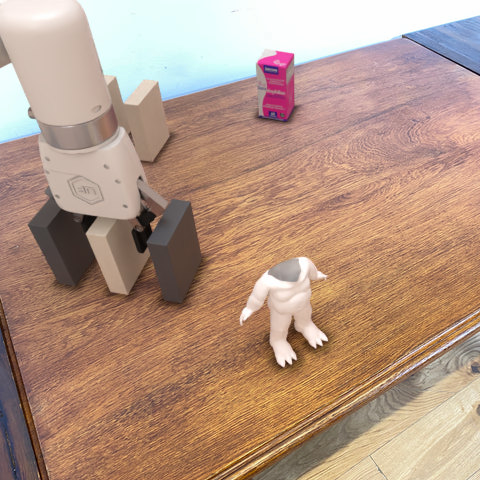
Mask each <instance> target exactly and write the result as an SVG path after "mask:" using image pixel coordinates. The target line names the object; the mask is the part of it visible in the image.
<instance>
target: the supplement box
mask: <svg viewBox="0 0 480 480" xmlns="http://www.w3.org/2000/svg"><path fill="white" fill-rule="evenodd" d="M255 74H256V75H255V76H256V90H257V103H258V104H257V105H258V106H257V107H258V108H257V109H258V118H262V119H270V120H275V121H276V120H277V121H281V122H288V120H289V118H290V116H291V114H292V112H293V110H294V109H295V53H293V52H286V51H281V50H274V49H269V48H264V50H263V52H262V53H261V55H260V56H259V57H258V59H257V60H256V62H255Z"/></svg>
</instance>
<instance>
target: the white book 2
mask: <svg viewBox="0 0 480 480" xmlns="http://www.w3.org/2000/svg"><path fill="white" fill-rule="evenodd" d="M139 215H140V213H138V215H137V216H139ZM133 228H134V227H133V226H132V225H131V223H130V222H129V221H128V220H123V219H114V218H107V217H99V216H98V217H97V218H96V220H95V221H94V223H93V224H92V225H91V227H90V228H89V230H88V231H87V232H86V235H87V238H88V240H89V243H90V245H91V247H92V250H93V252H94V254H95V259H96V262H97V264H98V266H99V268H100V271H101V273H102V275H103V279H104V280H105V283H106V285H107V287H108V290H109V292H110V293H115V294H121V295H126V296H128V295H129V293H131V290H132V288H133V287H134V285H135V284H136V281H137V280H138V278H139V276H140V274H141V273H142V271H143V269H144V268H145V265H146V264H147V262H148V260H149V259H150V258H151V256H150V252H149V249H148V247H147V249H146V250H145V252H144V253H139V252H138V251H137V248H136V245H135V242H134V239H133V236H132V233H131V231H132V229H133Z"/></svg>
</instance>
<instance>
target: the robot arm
mask: <svg viewBox="0 0 480 480" xmlns="http://www.w3.org/2000/svg"><path fill="white" fill-rule="evenodd" d="M94 40H95V39H94V36H93V33H92V29H91V27H90V23H89V20H88V16H87V13H86V12H85V10H84V8H83V7H82V5H81V4H80V2H78V1H77V0H0V69H1V68H4V67H5V66H8V65H10V64H12V67H13V69H14V72H15V74H16V77H17V79H18V81H19V83H20V86H21V88H22V90H23V93H24V95H25V97H26V100H27V102H28V105H29V107H28V108H27V116H28V118H29V119H32V120H36V123H37V125H38V127H39V130H40V133H39V134H38V137H37V143H38V151H39V156H40V161H41V165H42V168H43V173H44V175H45V178H46V182H47V184H48V185H47V187H46V188H45V190H43V193H44V194H45V195H46V196H47V197H49V198H52V199H53V200H54V201H56V203H57V204H58V206H59V207H60V208H62V209H64V210H66V211H68V212H69V213H71V214H72V215H73V216H72V217H73V220H74V221H76V222H79V223H81V226H82V228H83V231H84V233H85V235H86V232H87V231H88V230H89V228H90V227H91V225H92V224H93V223H94V221H95V220H96V218H97V217H98V216H99V217H107V218H114V219H123V220H128V221H129V222H130V223H131V225H132V226H133V227H134V228H133V229H132V231H131V233H132V236H133V239H134V242H135V245H136V248H137V251H138V252H139V253H144V252H145V250H146V249H147V247H148V246H147V241H148V239H149V237H150V236H151V234H152V232H153V228H152V222H154V221H155V219H157V218H158V217H160V216H162V215H163V214H164V212H165V210H166V209H167V207H168V205H169V203H170V202H169V201H168V200H167V199H165V198H164V197H163V196H162V195H161V194H159V193H158V192H157V191H155V190H154V189H153V188H152V187H151V186H149V183H148V179H147V176H146V172H145V169H144V167H143V164H142V160H140V159H139V156H138V154H137V151H136V148H135V144H134V142H132V139H131V138H130V136H129V135H128V134H127V132H126V131H125V129H124V128H123V127H120V126H119V124H118V121H117V117H116V114H115V111H114V107H113V104H112V100H111V97H110V94H109V90H108V87H107V84H106V80H105V77H104V75H105V74H104V70H103V66H102V64H101V60H100V57H99V53H98V50H97V47H96V43H95V41H94ZM147 205H148V206H149V207H148V206H147ZM138 213H140V215H139V216H137V215H138ZM86 238H87V235H86ZM87 240H88V238H87ZM88 243H89V240H88ZM89 245H90V243H89ZM90 246H91V245H90Z"/></svg>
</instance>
